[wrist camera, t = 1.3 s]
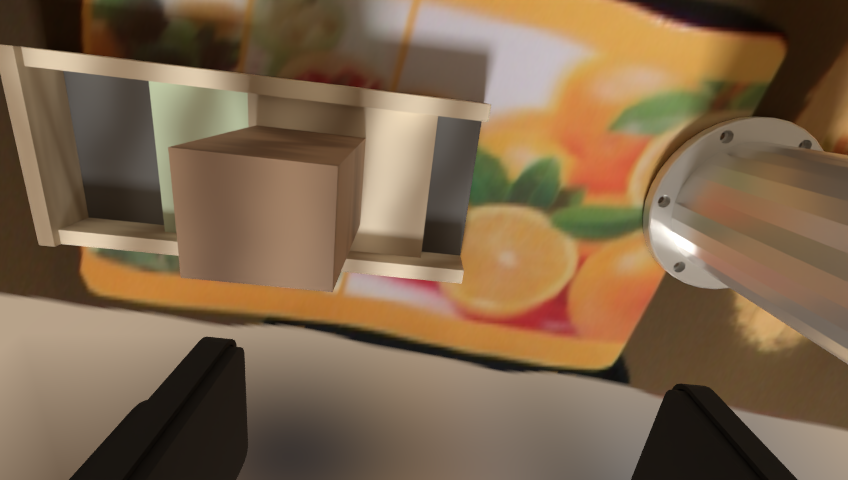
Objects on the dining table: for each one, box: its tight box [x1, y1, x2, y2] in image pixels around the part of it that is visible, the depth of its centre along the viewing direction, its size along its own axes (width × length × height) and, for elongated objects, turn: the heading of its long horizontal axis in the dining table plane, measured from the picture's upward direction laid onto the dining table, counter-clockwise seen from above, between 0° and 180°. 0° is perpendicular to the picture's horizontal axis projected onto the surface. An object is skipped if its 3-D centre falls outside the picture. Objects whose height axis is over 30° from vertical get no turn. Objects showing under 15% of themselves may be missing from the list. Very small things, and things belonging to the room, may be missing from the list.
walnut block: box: [168, 125, 366, 292], centre depth 23 cm, size 7×6×10 cm
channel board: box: [0, 44, 491, 284], centre depth 27 cm, size 28×12×4 cm, turn 83°
